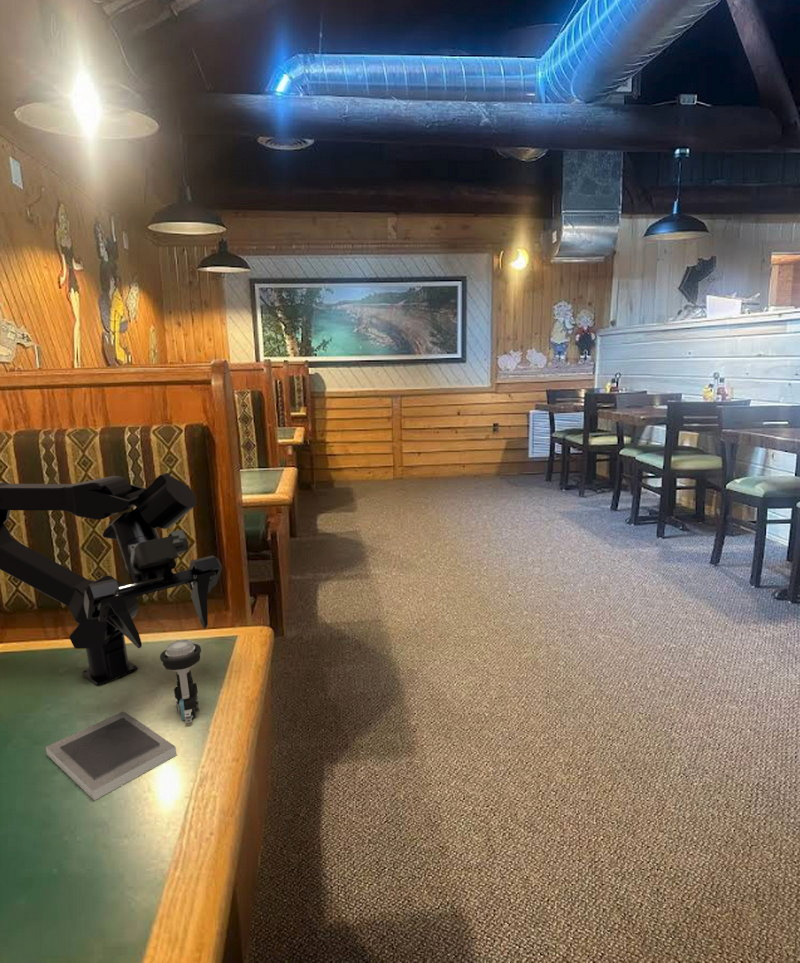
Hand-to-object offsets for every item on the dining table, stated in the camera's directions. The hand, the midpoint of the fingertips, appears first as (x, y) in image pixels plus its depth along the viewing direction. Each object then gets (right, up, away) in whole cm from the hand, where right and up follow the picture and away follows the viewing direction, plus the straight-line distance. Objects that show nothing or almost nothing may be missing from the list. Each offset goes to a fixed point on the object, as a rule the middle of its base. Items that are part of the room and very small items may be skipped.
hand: (174, 636), depth 85 cm
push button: (+2, -11, -1) cm, 11 cm away
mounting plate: (-4, -13, -9) cm, 16 cm away
